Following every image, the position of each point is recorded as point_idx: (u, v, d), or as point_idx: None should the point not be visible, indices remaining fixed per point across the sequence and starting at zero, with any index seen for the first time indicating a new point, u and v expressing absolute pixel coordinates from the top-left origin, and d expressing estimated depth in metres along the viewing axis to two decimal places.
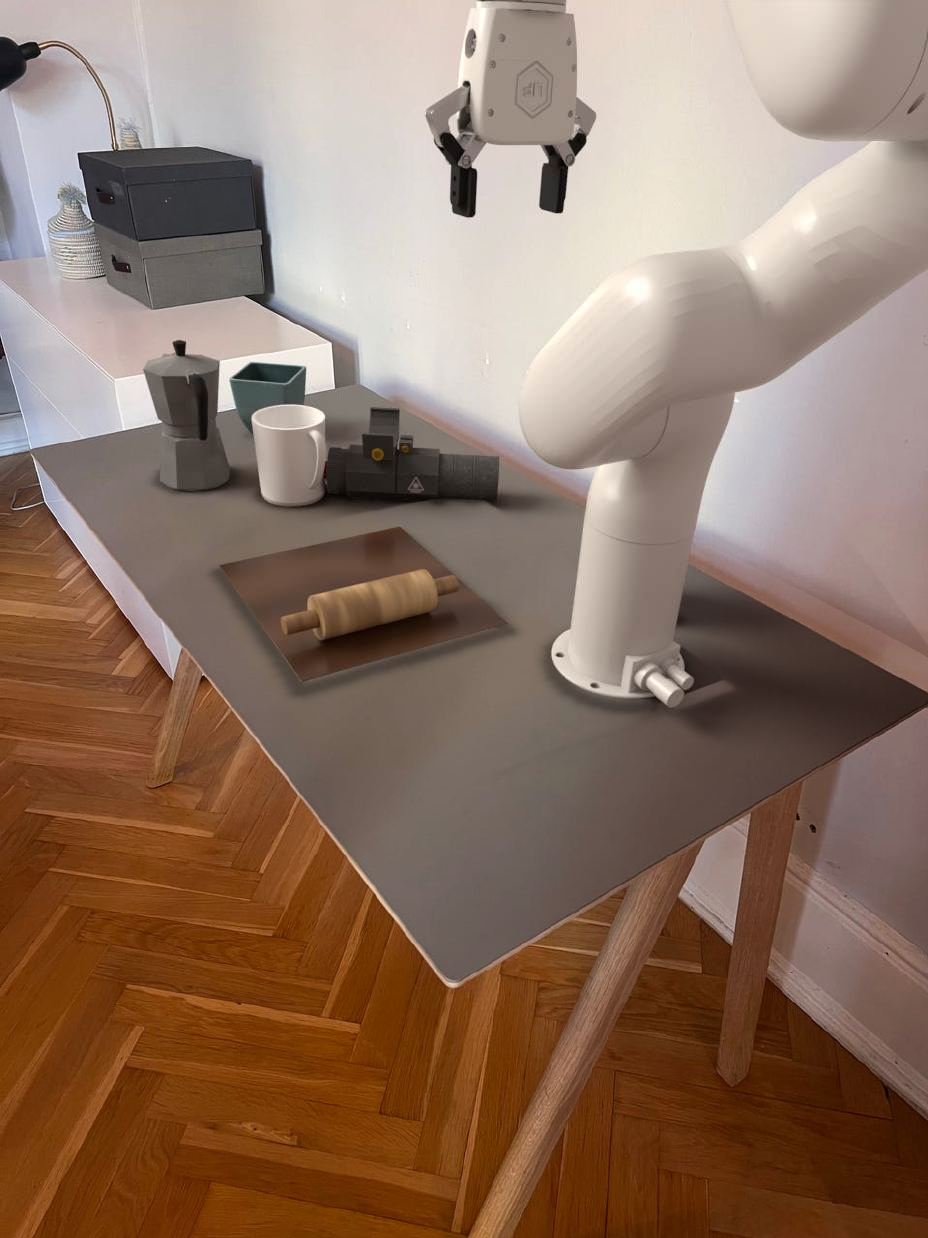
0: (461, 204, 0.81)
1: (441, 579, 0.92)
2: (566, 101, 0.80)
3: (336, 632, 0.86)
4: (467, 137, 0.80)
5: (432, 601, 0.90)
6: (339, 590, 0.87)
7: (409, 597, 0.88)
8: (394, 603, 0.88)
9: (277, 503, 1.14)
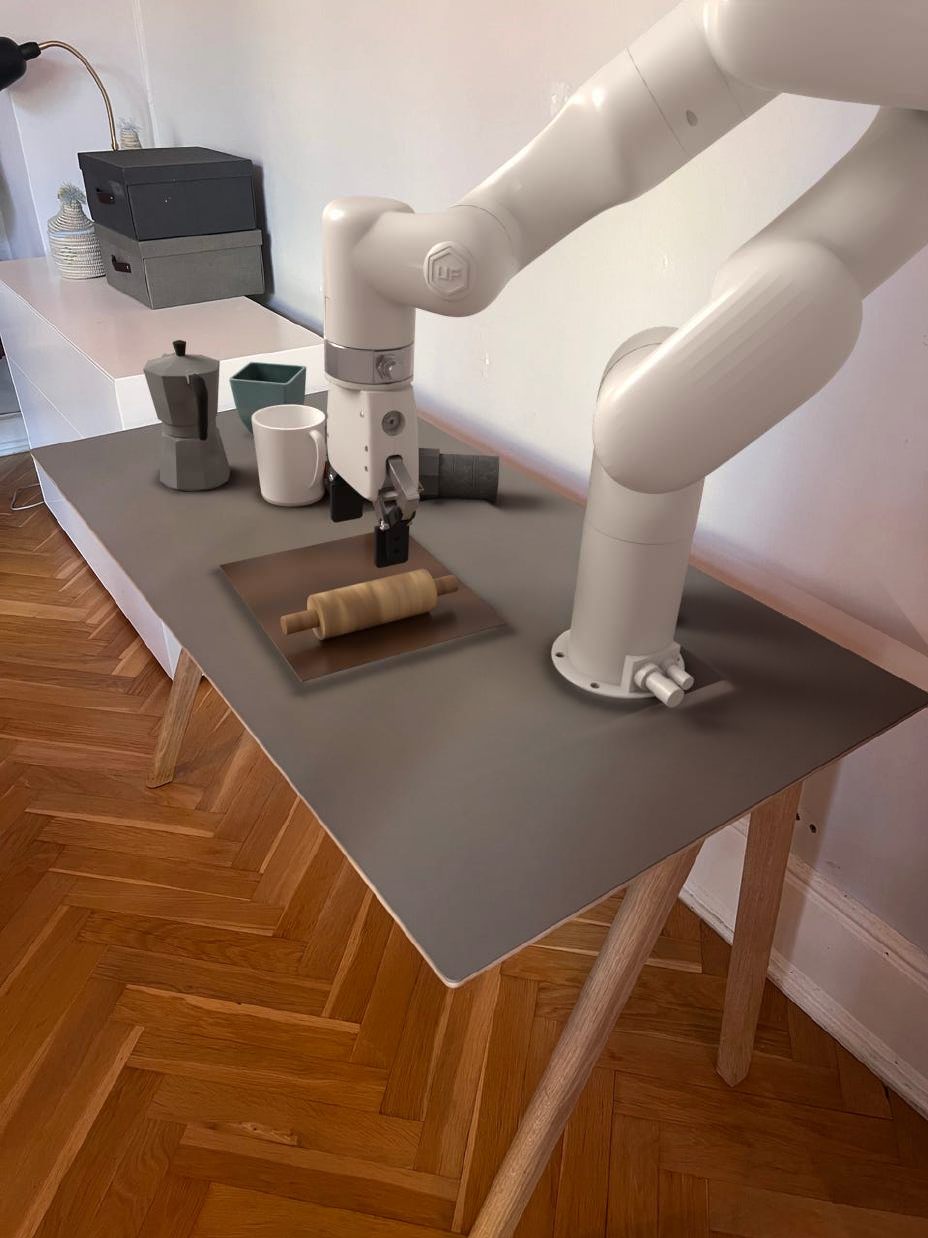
0: None
1: (441, 578, 0.92)
2: None
3: (335, 631, 0.86)
4: (384, 500, 0.79)
5: (432, 600, 0.90)
6: (338, 589, 0.87)
7: (408, 596, 0.88)
8: (393, 601, 0.88)
9: (277, 503, 1.14)
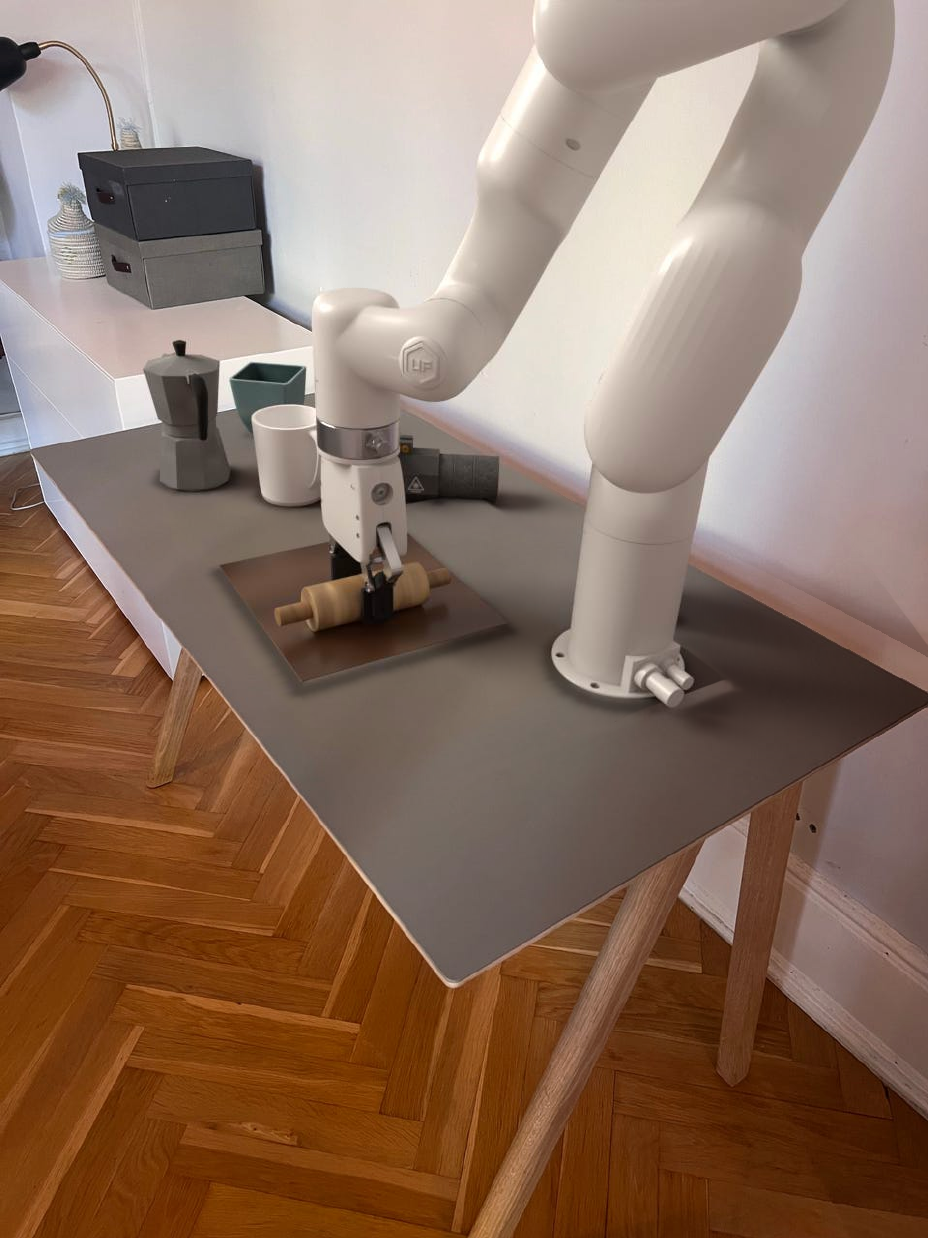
0: None
1: None
2: None
3: (328, 608, 0.86)
4: None
5: (421, 577, 0.91)
6: None
7: None
8: None
9: (277, 503, 1.14)
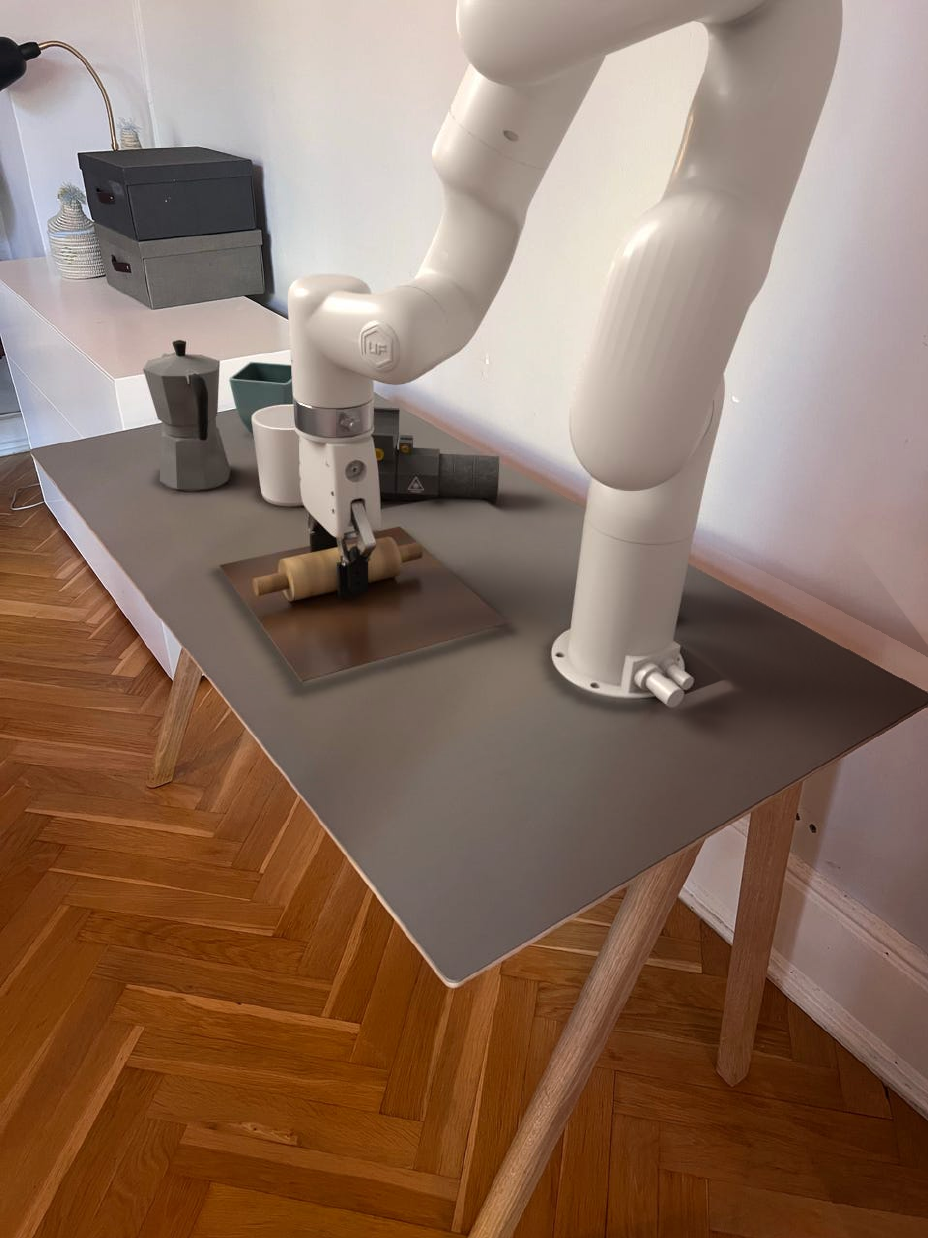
0: None
1: (407, 561, 0.98)
2: None
3: None
4: (346, 539, 0.89)
5: None
6: (316, 595, 0.93)
7: None
8: None
9: (277, 503, 1.14)
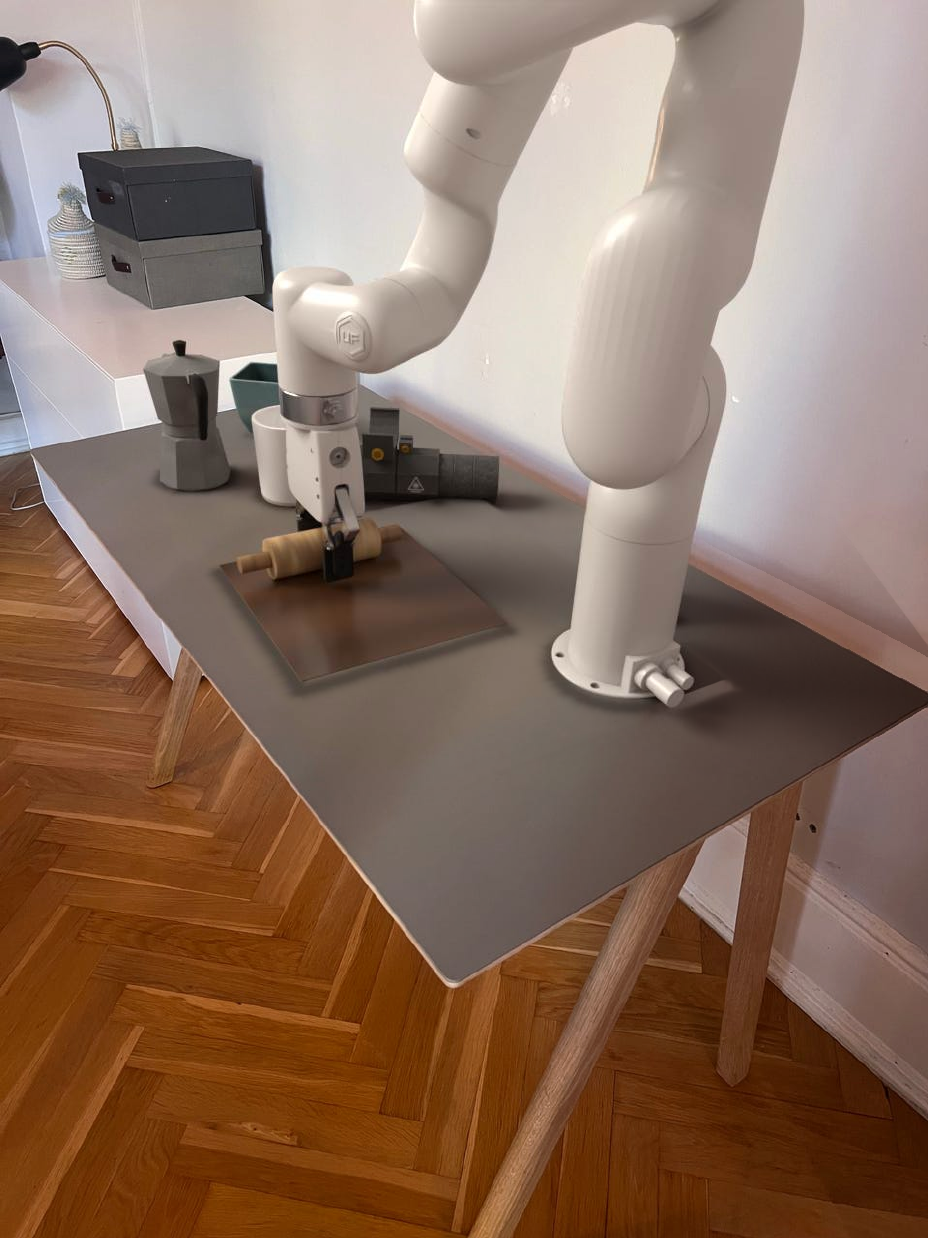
0: None
1: (387, 529, 1.01)
2: None
3: (285, 576, 0.96)
4: (331, 524, 0.92)
5: (375, 553, 1.00)
6: (293, 538, 0.95)
7: (355, 551, 0.98)
8: None
9: (277, 503, 1.14)
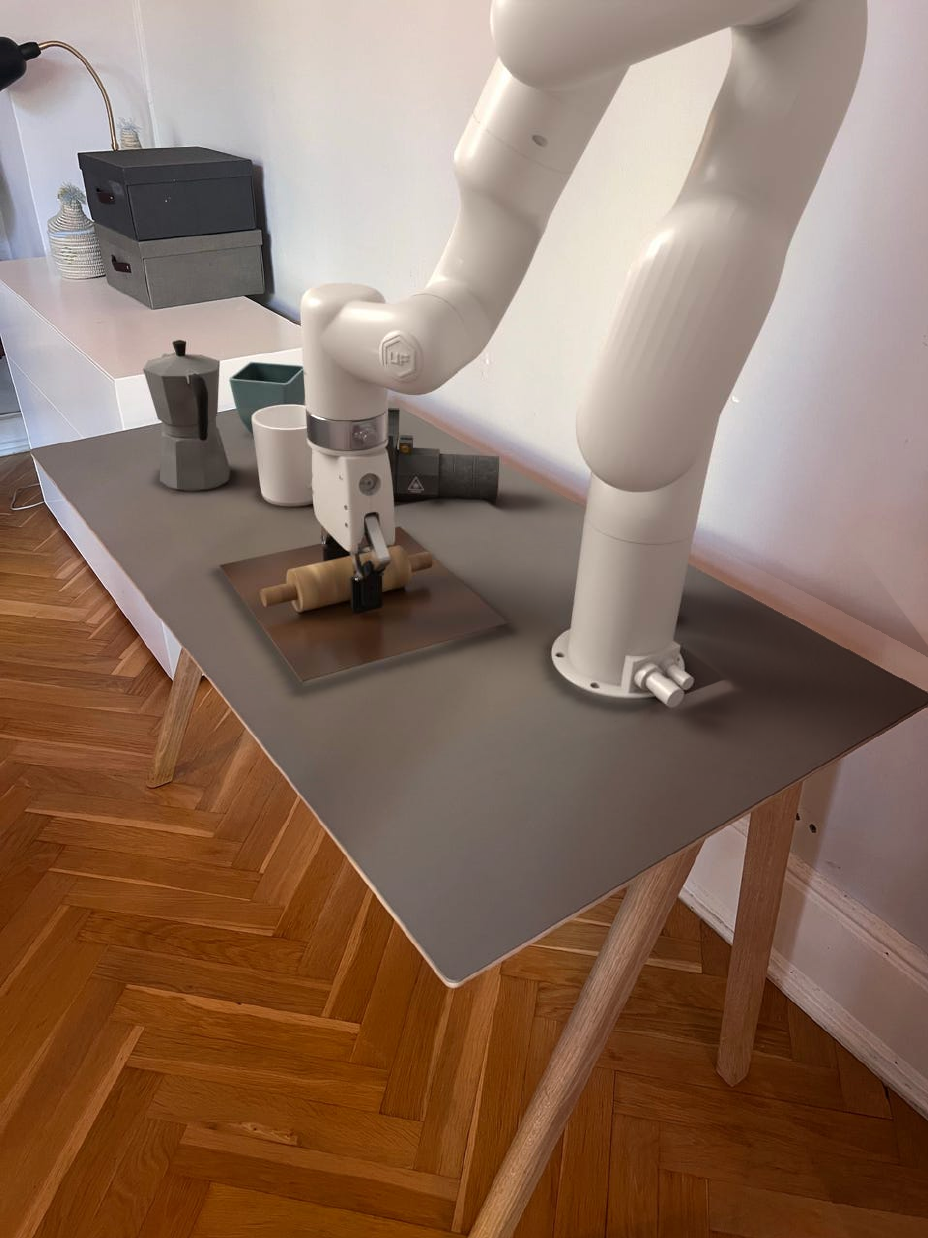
0: None
1: None
2: None
3: None
4: (360, 553, 0.88)
5: None
6: None
7: None
8: None
9: (277, 503, 1.14)
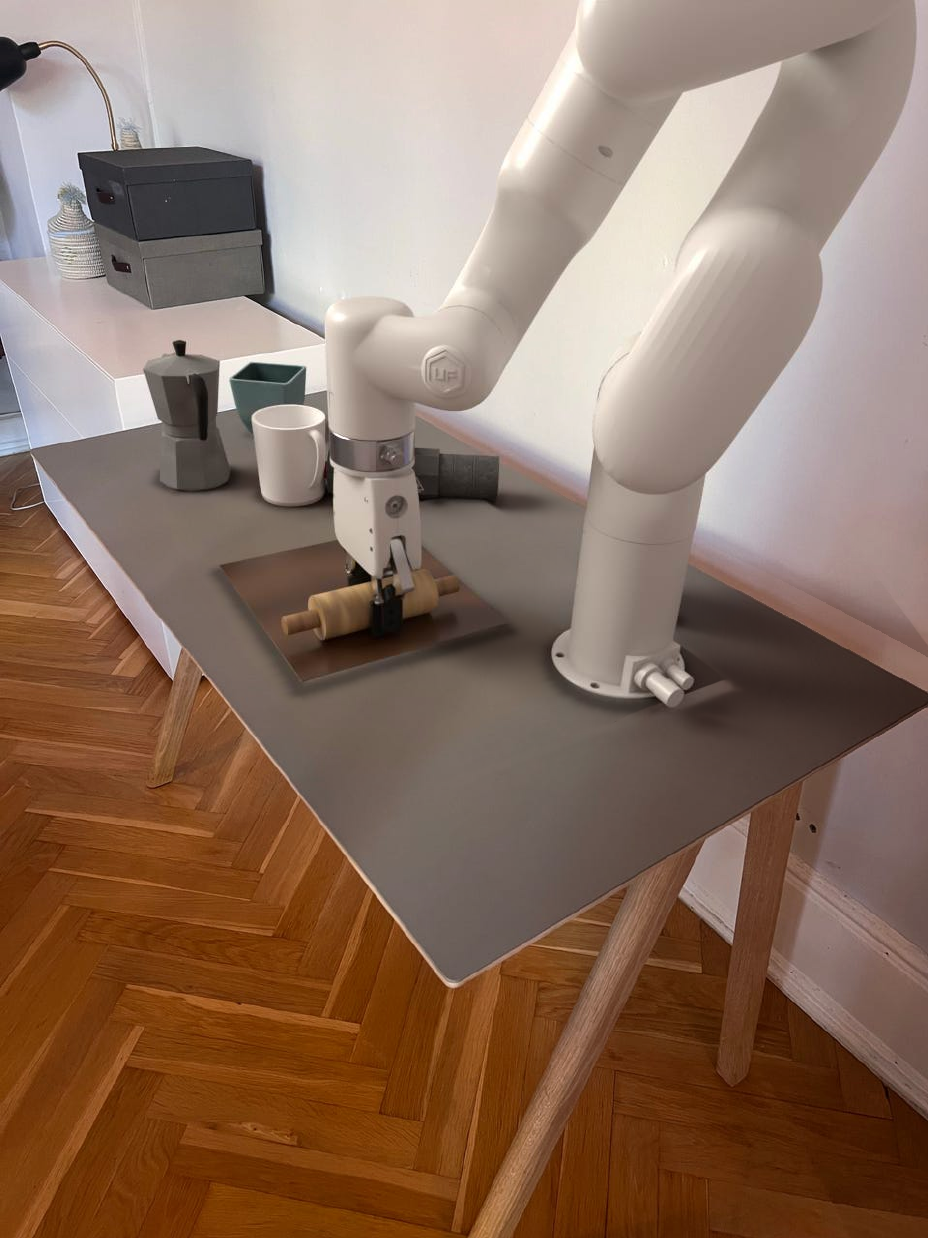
0: None
1: (443, 580, 0.92)
2: None
3: (336, 635, 0.86)
4: (382, 577, 0.84)
5: (432, 605, 0.90)
6: (342, 592, 0.86)
7: (411, 603, 0.89)
8: None
9: (277, 503, 1.14)
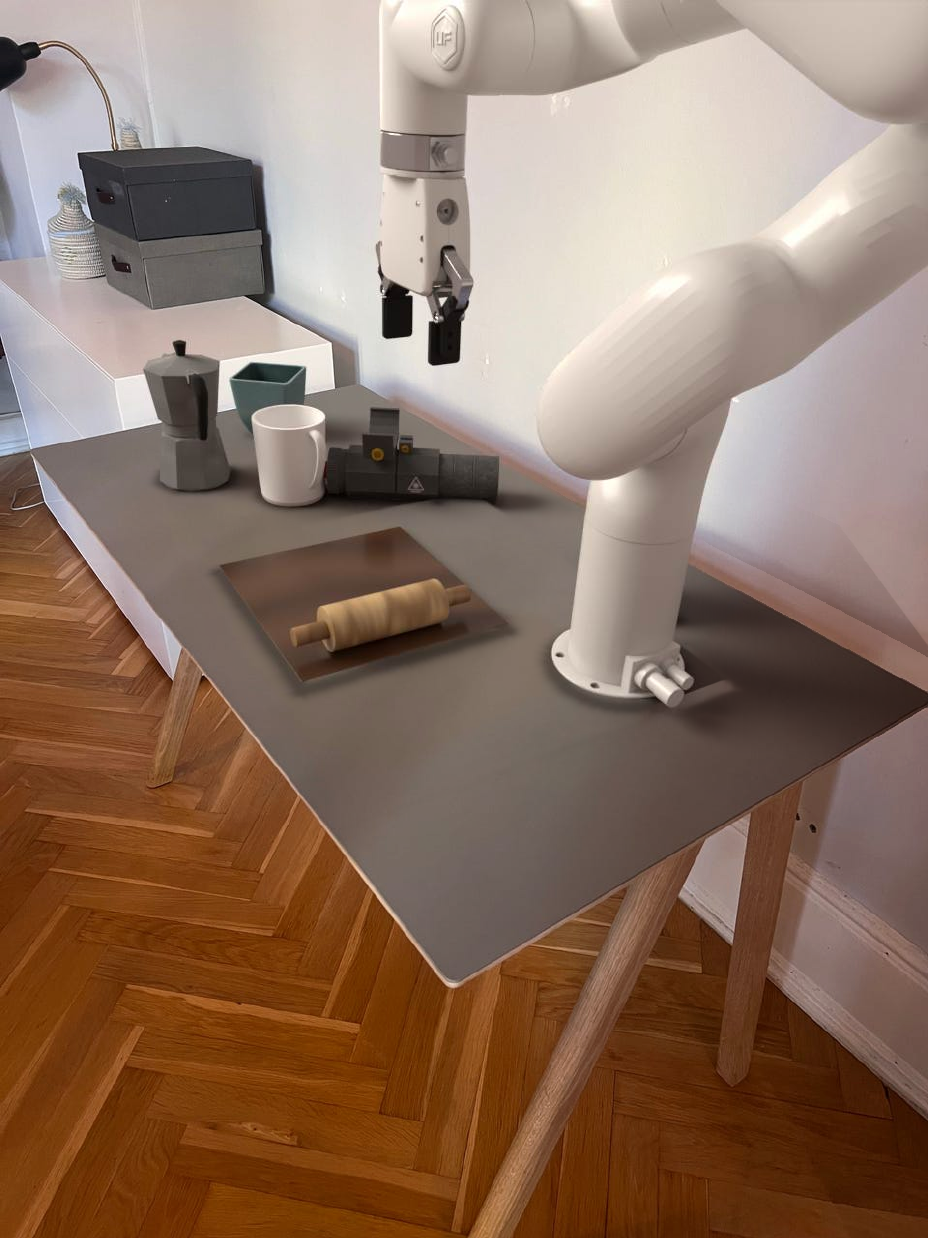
0: None
1: (456, 598, 0.90)
2: None
3: None
4: (437, 294, 0.83)
5: None
6: (360, 621, 0.84)
7: (418, 628, 0.88)
8: (402, 632, 0.88)
9: (277, 503, 1.14)
